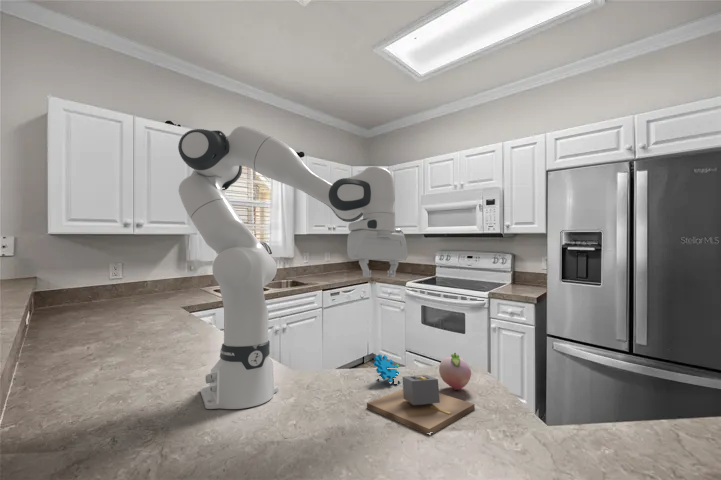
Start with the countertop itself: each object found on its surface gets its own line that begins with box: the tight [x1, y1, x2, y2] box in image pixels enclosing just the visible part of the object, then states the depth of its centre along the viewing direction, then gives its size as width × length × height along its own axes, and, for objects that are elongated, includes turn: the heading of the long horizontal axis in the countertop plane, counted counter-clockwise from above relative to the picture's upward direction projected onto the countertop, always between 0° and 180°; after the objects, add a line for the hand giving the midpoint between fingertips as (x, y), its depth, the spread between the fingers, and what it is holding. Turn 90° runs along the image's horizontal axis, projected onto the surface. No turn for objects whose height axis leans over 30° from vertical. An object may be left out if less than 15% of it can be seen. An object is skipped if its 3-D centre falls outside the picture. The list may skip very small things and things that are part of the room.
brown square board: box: [366, 375, 475, 434], centre depth 76 cm, size 18×18×7 cm
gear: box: [373, 353, 400, 383], centre depth 96 cm, size 11×6×10 cm
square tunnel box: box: [402, 374, 440, 405], centre depth 76 cm, size 6×6×5 cm
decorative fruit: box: [438, 352, 472, 391], centre depth 89 cm, size 9×8×10 cm
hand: (379, 277), depth 86 cm, fingers open, 8 cm apart
